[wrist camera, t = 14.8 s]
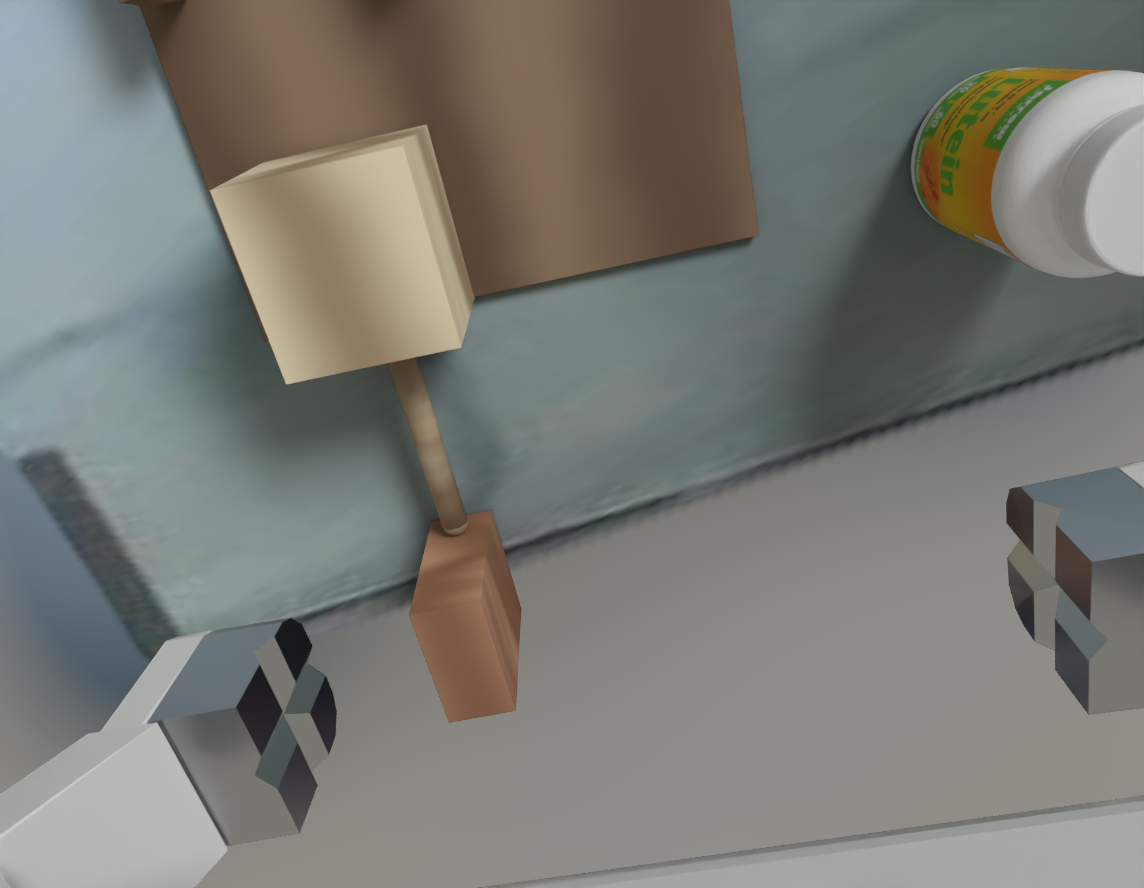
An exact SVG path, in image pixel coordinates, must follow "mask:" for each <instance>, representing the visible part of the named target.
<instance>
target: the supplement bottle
mask: <svg viewBox="0 0 1144 888" xmlns="http://www.w3.org/2000/svg"><path fill="white" fill-rule="evenodd" d="M911 177H912V183H913V187H914V190H915V193H916V196H917V198H918V200H919V202H920V204H921V205H922V207H923V208H924V210H925V211H926V212H927V213H928V214H929V215H930V216H931V217H932V218H933V219H934V220H935V221H937V222H938V223H940V224H941V225H943V226H944V227H946V228H948V229H950V230H952V231H954V232H956V233H958V234H960V235H962V236H965V237H967V238H969V239H971V240H974V241H976V242H978V243H980V244H983V245H985V246H987V247H989V248H992V249H994V250H996V251H998V252H1000V253H1003V254H1005V255H1007V256H1009V257H1011V258H1013V259H1015V260H1017V261H1020V262H1022V263H1024V264H1026V265H1028V266H1030V267H1032V268H1034V269H1037V270H1039V271H1042V272H1045V273H1048V274H1051V275H1055V276H1060V277H1067V278H1089V277H1098V276H1103V275H1107V274H1111V273H1114V272H1119V273H1122V274H1126V275H1131V276H1144V73H1139V72H1132V71H1123V70H1085V69H1053V68H1030V67H1010V68H999V69H993V70H988V71H984V72H981V73H979V74H976V75H973V76H971V77H969V78H967V79H965V80H963V81H962V82H960V83H958V84H957V85H956V86H954V87H953V88H952V89H950V90H949V91H948V92H947V93H946V94H945V95H943V96H942V97H941V98H940V99H939V100H938V102H937V103H936V104H935V105H934V106H933V107H932V109H931V110H930V111H929V113H928V114H927V116H926V118H925V119H924V121H923V123H922V125H921V127H920V129H919V131H918V134H917V136H916V139H915V142H914V146H913V151H912V157H911Z"/></svg>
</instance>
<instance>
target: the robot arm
mask: <svg viewBox="0 0 1144 888" xmlns="http://www.w3.org/2000/svg"><path fill="white" fill-rule="evenodd" d="M1006 512H1007V524H1008V525H1009V527H1010V528H1011V529H1012V530H1013V531H1014V533H1015V534H1016V535H1017V536H1018V537H1019V539H1020V541H1019V542H1018V544H1017V545H1016V547H1015V548H1014V549H1013V551H1012V552H1011V554H1010V555H1009V556H1008V558H1007V559H1008V576H1009V586H1010V589H1011V594H1012V597H1013V601H1014V605H1015V609H1016V610H1017V612H1018V615H1019V617H1020V619H1021V621H1022V623H1023V625H1024V627H1025V628H1026V630H1027V631H1028V633H1029V634H1030V635H1031V637H1032V638H1033V640H1034V641H1035V642H1037V643H1039V644H1042V645H1044V646H1046V647H1048V648H1050V649H1053V650H1055V670H1056V671H1057V673H1058V674H1059V676H1060V677H1061V678H1062V679H1063V681H1064V682H1065V684H1066V685H1067V686H1068V688H1069V689H1070V690H1071V692H1072V693H1073V694H1074V696H1075V697H1076V699H1077V700H1078V701H1079V703H1080V704H1081V705H1082V707H1083V708H1084V709H1085V711H1086V712H1087V713H1088V714H1089V715H1090V714H1098V713H1105V712H1114V711H1123V710H1130V709H1138V708H1144V461H1139V462H1135V463H1130V464H1126V465H1121V466H1117V467H1112V468H1108V469H1104V470H1099V471H1094V472H1089V473H1085V474H1079V475H1075V476H1070V477H1065V478H1060V479H1055V480H1050V481H1045V482H1041V483H1036V484H1031V485H1026V486H1022V487H1017V488H1012V489H1010V490H1009V494H1008V498H1007V502H1006ZM311 649H312V644H311V642H310V640H309V638H308V636H307V634H306V631H305V629H304V627H303V625H302V624H301V623H299V622H298V621H296V620H294V619H292V618H287V619H281V620H274V621H268V622H262V623H256V624H250V625H243V626H237V627H231V628H225V629H218V630H215V631H204V632H199V633H194V634H189V635H184V636H179V637H176V638H173V639H171V640H168V641H166V642H165V643H164V644H163V646H162V647H161V649H160V650H159V651H158V653H157V654H156V656H155V657H154V658H153V660H152V661H151V662H150V664H149V665H148V667H147V668H146V670H145V671H144V672H143V674H142V675H141V676H140V678H139V679H138V680H137V682H136V683H135V685H134V686H133V688H132V689H131V690H130V692H129V693H128V694H127V696H126V697H125V698H124V700H123V701H122V703H121V704H120V705H119V707H118V708H117V710H116V711H115V712H114V714H113V715H112V717H111V718H110V719H109V721H108V722H107V724H106V725H105V726H104V728H103V729H102V730H101V732H96V733H90V734H87V735H86V736H84V737H83V738H81V739H80V740H79V741H77V742H75V743H74V744H73V745H71V746H70V747H68V748H67V749H65V750H64V751H63V752H61V753H60V754H58V755H57V756H55V757H54V758H52V759H51V760H49V761H48V762H46V763H45V764H44V765H42V766H41V767H39V768H38V769H36V770H35V771H33V772H32V773H31V774H29V775H28V776H26V777H25V778H23V779H22V780H20V781H19V782H18V783H16V784H15V785H13V786H12V787H10V788H9V789H7V790H6V791H4V792H3V793H2V794H0V888H194V887H195V886H196V885H197V884H198V883H199V882H200V881H201V880H202V878H203V877H204V876H205V875H206V874H207V873H208V872H209V871H210V870H211V868H212V867H213V866H214V865H215V864H216V863H217V862H218V861H219V860H220V858H221V857H222V856H223V855H224V854H225V853H226V852H227V851H228V848H227V846H231V845H236V844H242V843H248V842H253V841H258V840H264V839H269V838H275V837H281V836H286V835H292V834H297V833H300V831H301V828H302V825H303V823H304V820H305V818H306V815H307V812H308V810H309V807H310V804H311V801H312V799H313V796H314V794H315V791H316V788H317V783H316V781H315V778H314V776H313V774H312V772H311V771H312V770H313V769H315V768H316V767H317V766H318V764H320V763H321V762H322V761H323V760H324V759H325V758H326V757H327V756H328V755H329V753H330V750H331V747H332V745H333V742H334V739H335V736H336V715H337V710H336V706H335V701H334V696H333V692H332V689H331V687H330V685H329V682H328V680H327V677H326V675H324V674H323V673H321V672H320V671H318V670H317V669H315V668H314V667H313V666H311V665H309V664H308V663H307V660H308V658H309V655H310V652H311ZM481 888H1144V796H1137V797H1130V798H1122V799H1115V800H1108V801H1100V802H1093V803H1086V804H1078V805H1072V806H1064V807H1057V808H1050V809H1043V810H1035V811H1028V812H1021V813H1014V814H1006V815H999V816H992V817H984V818H977V819H970V820H963V821H956V822H948V823H941V824H934V825H926V826H920V827H912V828H906V829H898V830H890V831H883V832H877V833H869V834H862V835H854V836H847V837H840V838H832V839H825V840H818V841H811V842H804V843H797V844H789V845H782V846H775V847H767V848H760V849H753V850H746V851H739V852H732V853H725V854H717V855H710V856H703V857H696V858H689V859H682V860H675V861H668V862H661V863H654V864H647V865H639V866H632V867H625V868H618V869H611V870H603V871H596V872H589V873H582V874H574V875H567V876H560V877H553V878H546V879H538V880H531V881H524V882H517V883H510V884H503V885H495V886H488V887H481Z"/></svg>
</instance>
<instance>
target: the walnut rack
mask: <svg viewBox="0 0 1144 888" xmlns="http://www.w3.org/2000/svg"><path fill="white" fill-rule="evenodd" d="M118 1H119V3H125V4H133V5H139V6H140V8H141V11H142V14H143V16H144V19H145V22H146V24H147V27H148V30H149V32H150V35H151V38H152V40H153V43H154V46H155V48H156V51H157V54H158V56H159V59H160V62H161V64H162V67H163V70H164V72H165V75H166V78H167V80H168V83H169V86H170V88H171V91H172V94H173V96H174V99H175V102H176V104H177V107H178V110H179V112H180V115H181V118H182V120H183V123H184V126H185V128H186V131H187V134H188V136H189V139H190V142H191V144H192V147H193V150H194V152H195V155H196V158H197V160H198V163H199V166H200V168H201V171H202V174H203V176H204V179H205V182H206V184H207V187H208V190H209V192H210V190H212V189H214V188H216V187H218V186H219V185H221V184H223V183H225V182H227V181H229V180H231V179H233V178H235V177H237V176H238V175H240V174H242V173H244V172H246V171H248V170H250V169H252V168H254V167H256V166H257V165H259V164H261V163H263V162H267V161H271V160H276V159H280V158H284V157H288V156H293V155H297V154H301V153H306V152H310V151H314V150H319V149H323V148H327V147H331V146H336V145H340V144H344V143H349V142H353V141H357V140H362V139H366V138H370V137H374V136H379V135H383V134H387V133H392V132H396V131H400V130H405V129H409V128H413V127H418V126H422V125H426V124H427V127H428V130H429V134H430V138H431V141H432V145H433V149H434V152H435V156H436V160H437V163H438V167H439V171H440V174H441V178H442V182H443V185H444V189H445V193H446V196H447V200H448V203H449V207H450V211H451V214H452V218H453V222H454V225H455V229H456V233H457V236H458V240H459V244H460V247H461V251H462V255H463V258H464V262H465V266H466V269H467V273H468V276H469V280H470V284H471V287H472V291H473V295H474V297H476V296H481V295H486V294H490V293H495V292H499V291H504V290H509V289H513V288H518V287H523V286H527V285H532V284H536V283H541V282H546V281H550V280H555V279H560V278H564V277H569V276H573V275H578V274H583V273H587V272H592V271H597V270H601V269H606V268H610V267H615V266H620V265H624V264H629V263H634V262H638V261H643V260H647V259H652V258H657V257H661V256H666V255H671V254H675V253H680V252H684V251H689V250H694V249H698V248H703V247H708V246H712V245H717V244H722V243H726V242H731V241H735V240H740V239H745V238H749V237H754V236H759V234H758V226H757V218H756V211H755V203H754V195H753V187H752V179H751V171H750V163H749V155H748V147H747V139H746V131H745V123H744V115H743V107H742V99H741V92H740V84H739V76H738V68H737V60H736V52H735V44H734V36H733V28H732V20H731V12H730V4H729V0H118ZM210 195H211V192H210ZM211 198H212V200H213V197H212V195H211ZM213 203H214V206H215V208H216V211H217V214H218V216H219V219H220V222H221V224H222V227H223V230H224V232H225V235H226V238H227V240H228V243H229V245H230V248H231V251H232V253H233V256H234V259H235V261H236V264H237V267H238V269H239V272H240V275H241V277H242V280H243V283H244V285H245V288H246V291H247V293H248V296H249V299H250V301H251V304H252V307H253V309H254V312H255V315H256V317H257V320H258V323H259V325H260V328H261V331H262V333H263V336H264V339H265V341H266V342H268V341H269V339H268V337H267V334H266V332H265V329H264V327H263V324H262V322H261V319H260V317H259V314H258V312H257V309H256V306H255V304H254V301H253V299H252V296H251V294H250V291H249V289H248V286H247V284H246V281H245V279H244V276H243V273H242V271H241V268H240V266H239V263H238V261H237V258H236V256H235V253H234V251H233V248H232V246H231V243H230V240H229V238H228V235H227V233H226V230H225V228H224V225H223V223H222V220H221V218H220V215H219V212H218V210H217V207H216V205H215V202H214V200H213Z"/></svg>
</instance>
